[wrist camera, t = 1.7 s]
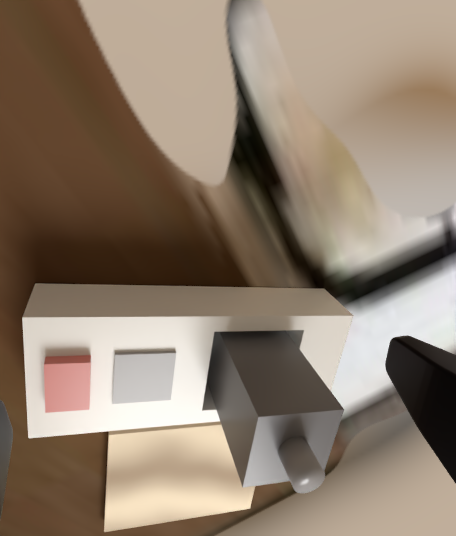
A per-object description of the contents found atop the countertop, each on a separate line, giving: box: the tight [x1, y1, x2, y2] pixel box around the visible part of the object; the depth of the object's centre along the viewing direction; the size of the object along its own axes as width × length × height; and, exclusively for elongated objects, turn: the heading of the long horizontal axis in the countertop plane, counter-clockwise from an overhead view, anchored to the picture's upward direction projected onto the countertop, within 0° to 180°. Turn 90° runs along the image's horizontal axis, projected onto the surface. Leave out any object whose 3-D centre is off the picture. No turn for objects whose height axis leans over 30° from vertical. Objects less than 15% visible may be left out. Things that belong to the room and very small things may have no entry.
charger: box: [207, 330, 344, 493], centre depth 20 cm, size 4×4×10 cm
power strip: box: [22, 283, 353, 438], centre depth 23 cm, size 7×17×4 cm, turn 82°
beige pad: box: [104, 421, 255, 532], centre depth 28 cm, size 9×11×1 cm
